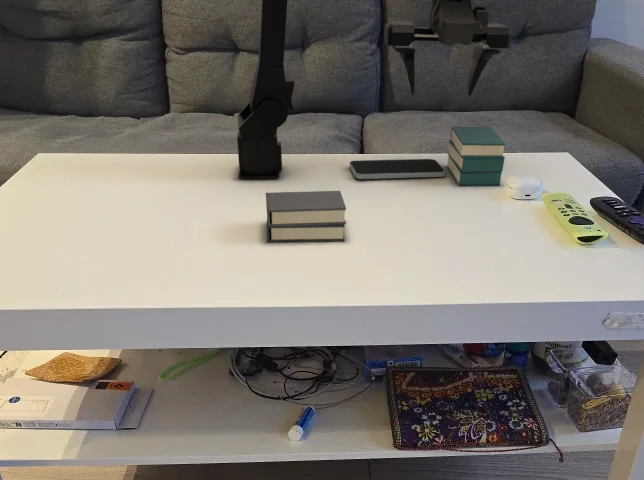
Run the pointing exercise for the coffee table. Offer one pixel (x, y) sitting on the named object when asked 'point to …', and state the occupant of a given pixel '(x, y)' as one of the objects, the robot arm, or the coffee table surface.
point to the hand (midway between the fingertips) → (440, 94)
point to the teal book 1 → (477, 142)
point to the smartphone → (396, 168)
